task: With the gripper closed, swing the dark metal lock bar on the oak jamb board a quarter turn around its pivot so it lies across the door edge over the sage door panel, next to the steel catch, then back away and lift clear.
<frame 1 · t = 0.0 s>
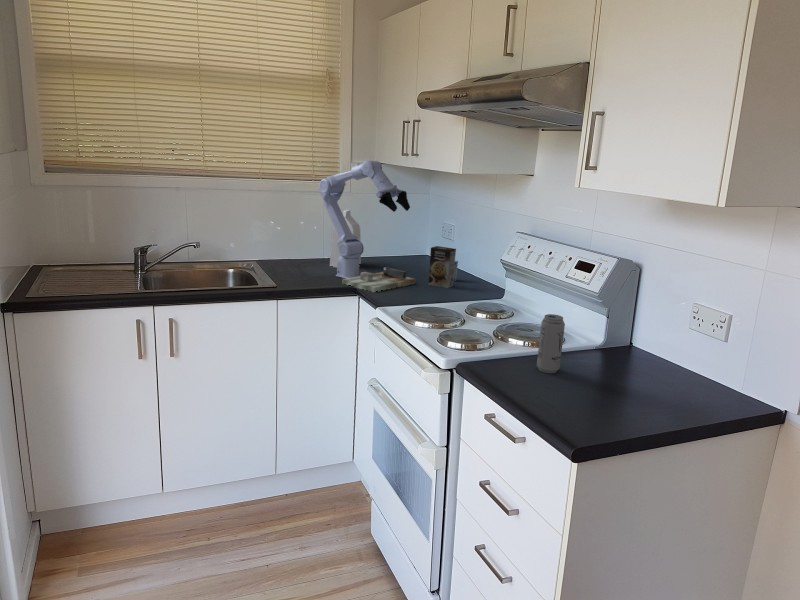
hand: (402, 209, 236), 32 cm above the table, tool tilted 50°, fingers open, 7 cm apart
coffee box: (440, 286, 255), on the table
medicine box: (447, 280, 266), on the table
energy drink can: (547, 370, 164), on the table
door and jamb: (377, 284, 252), on the table
milk: (345, 265, 286), on the table
lock bar: (394, 272, 255), point 4 cm above the table, hinge at 0.0°
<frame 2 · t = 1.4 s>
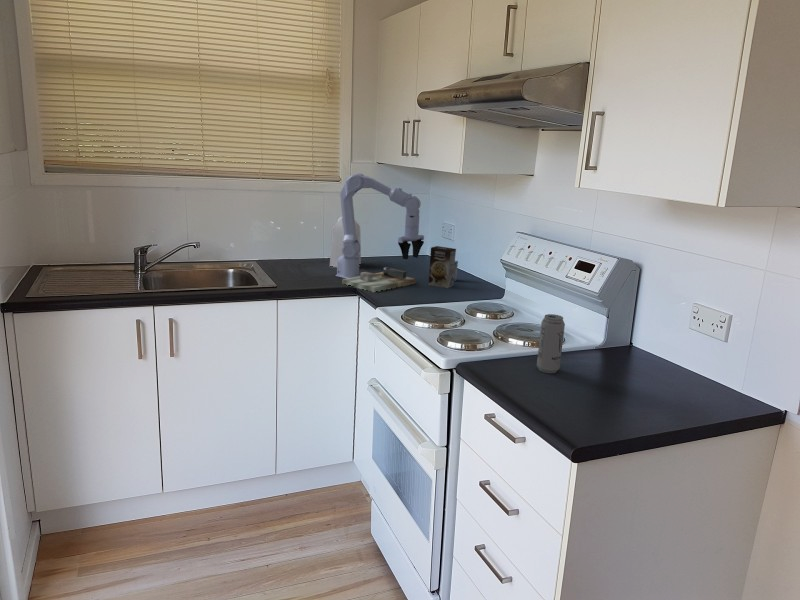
hand: (410, 258, 256), 10 cm above the table, tool pointing down, fingers open, 6 cm apart
nothing on the table moved.
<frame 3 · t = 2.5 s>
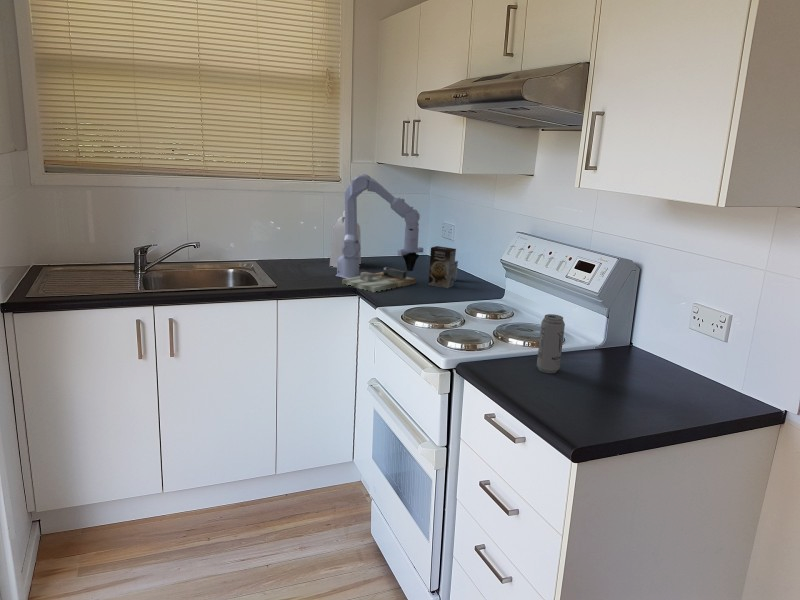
hand: (409, 270, 257), 5 cm above the table, tool pointing down, fingers closed
nothing on the table moved.
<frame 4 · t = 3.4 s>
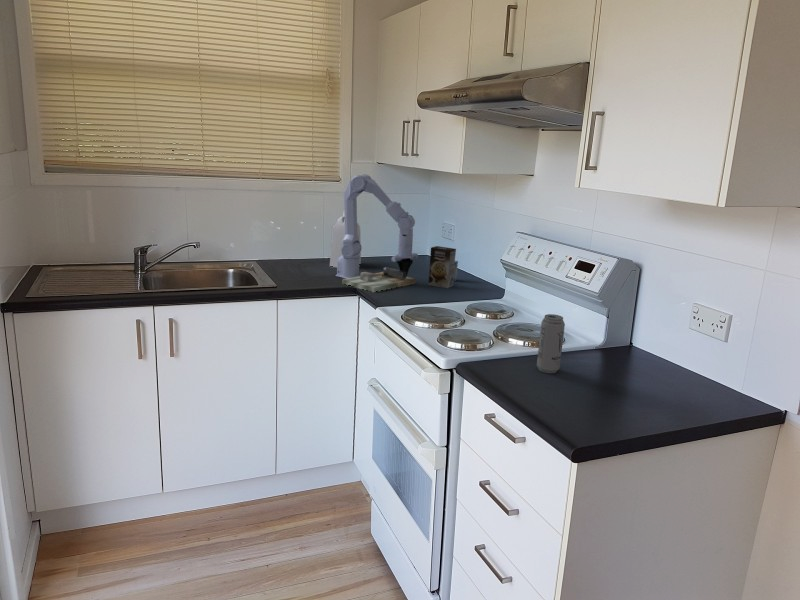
hand: (403, 276, 255), 3 cm above the table, tool pointing down, fingers closed
lock bar: (394, 272, 255), point 4 cm above the table, hinge at 0.0°, touching gripper
everything else where it was.
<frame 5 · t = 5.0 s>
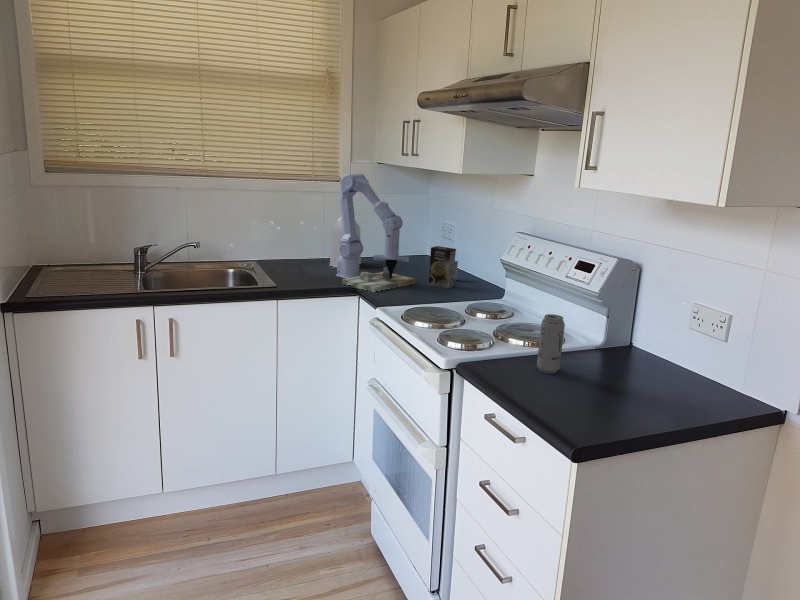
hand: (390, 278, 251), 3 cm above the table, tool pointing down, fingers closed
lock bar: (386, 273, 254), point 4 cm above the table, hinge at -51.1°, touching gripper
everything else where it was.
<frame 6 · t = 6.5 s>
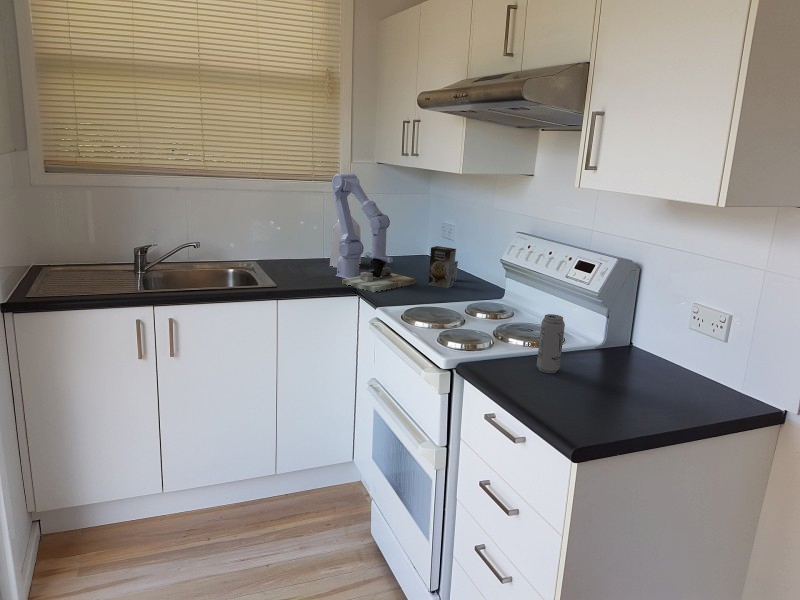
hand: (377, 277, 252), 3 cm above the table, tool pointing down, fingers closed
lock bar: (380, 272, 255), point 4 cm above the table, hinge at -93.3°, touching gripper
everything else where it was.
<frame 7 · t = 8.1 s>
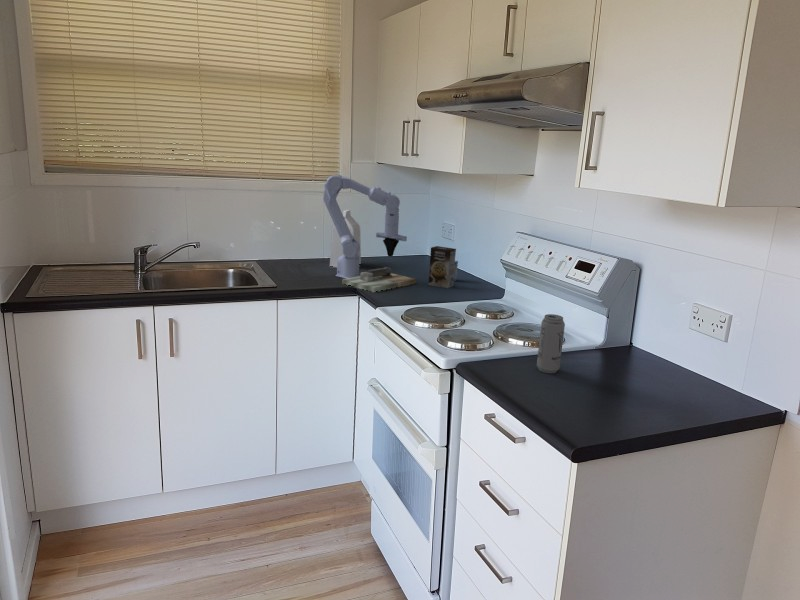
hand: (390, 256, 259), 10 cm above the table, tool pointing down, fingers closed
lock bar: (380, 272, 255), point 4 cm above the table, hinge at -93.4°
everything else where it was.
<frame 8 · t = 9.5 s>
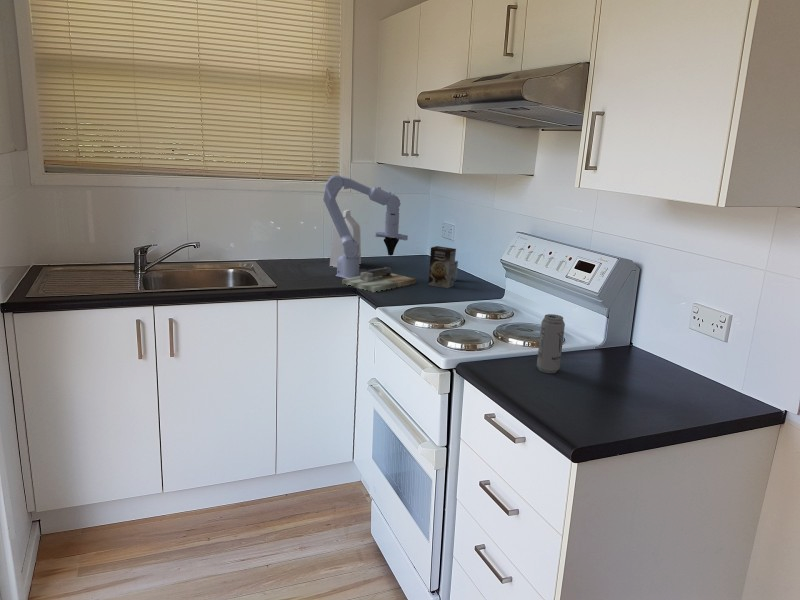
hand: (390, 255, 261), 10 cm above the table, tool pointing down, fingers closed
nothing on the table moved.
at the end: lock bar at -93° (first picture: +0°); coffee box moved 0.2 cm from its start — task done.
